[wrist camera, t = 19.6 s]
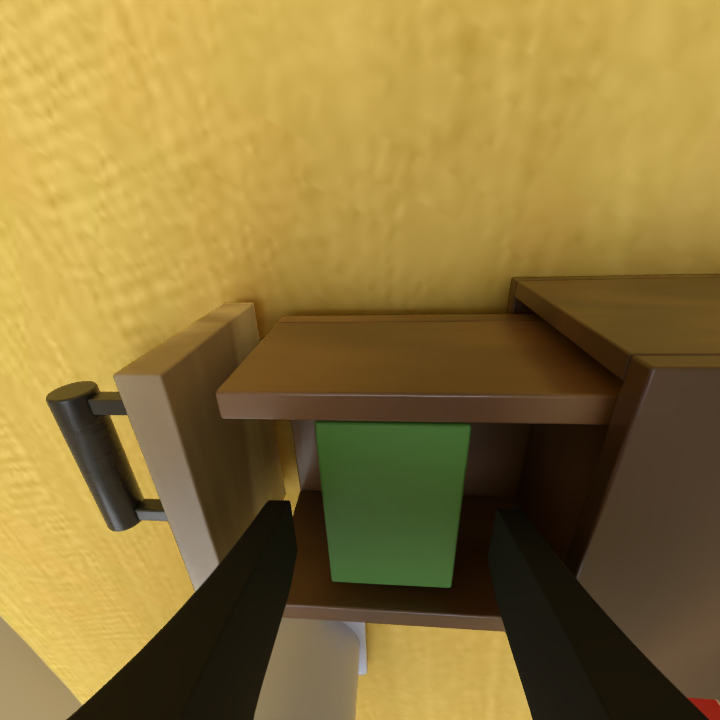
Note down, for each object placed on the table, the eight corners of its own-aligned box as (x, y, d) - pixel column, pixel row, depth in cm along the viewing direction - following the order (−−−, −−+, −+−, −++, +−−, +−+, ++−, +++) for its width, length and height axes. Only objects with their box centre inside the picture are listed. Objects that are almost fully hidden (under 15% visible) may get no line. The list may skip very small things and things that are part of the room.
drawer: (172, 489, 18) (78, 616, 13) (107, 303, 14) (-79, 373, 8) (521, 500, 17) (586, 650, 11) (566, 297, 12) (708, 377, 7)
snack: (345, 483, 16) (330, 582, 12) (336, 352, 13) (312, 423, 9) (435, 485, 15) (452, 589, 11) (446, 352, 13) (473, 425, 9)
